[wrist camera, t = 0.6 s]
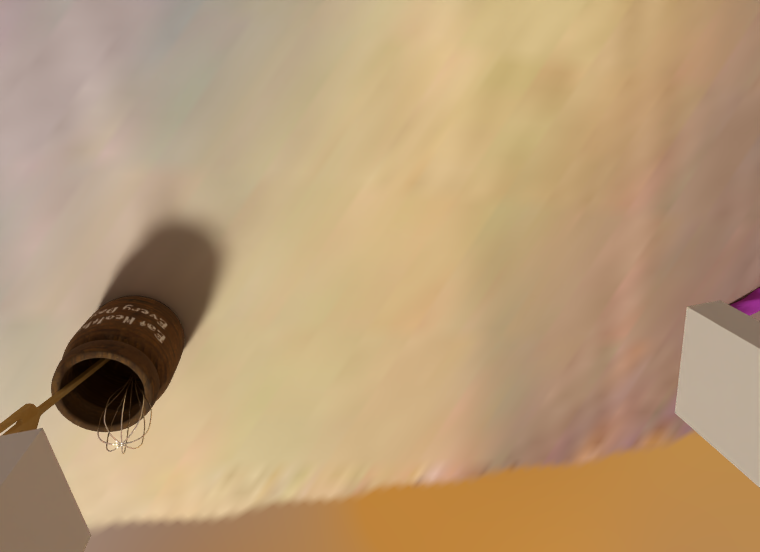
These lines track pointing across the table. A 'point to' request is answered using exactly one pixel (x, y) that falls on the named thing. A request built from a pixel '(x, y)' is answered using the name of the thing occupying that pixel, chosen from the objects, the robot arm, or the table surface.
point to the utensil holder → (112, 369)
